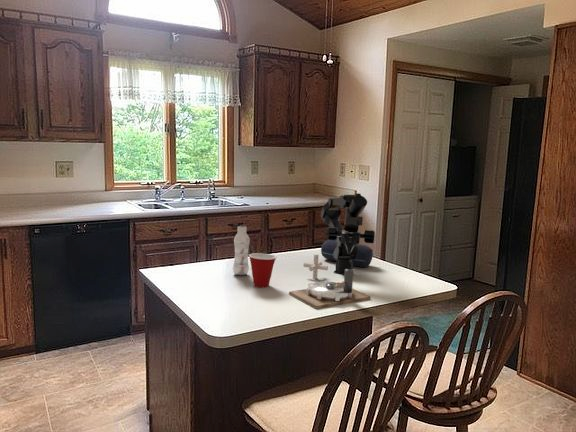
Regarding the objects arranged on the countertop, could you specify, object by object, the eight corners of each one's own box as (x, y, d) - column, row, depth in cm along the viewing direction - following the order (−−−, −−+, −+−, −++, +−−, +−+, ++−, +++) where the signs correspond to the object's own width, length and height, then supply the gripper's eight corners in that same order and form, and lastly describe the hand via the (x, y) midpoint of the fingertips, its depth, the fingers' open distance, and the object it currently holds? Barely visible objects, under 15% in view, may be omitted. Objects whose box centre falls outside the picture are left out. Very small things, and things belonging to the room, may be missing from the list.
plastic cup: (280, 284, 187) (282, 254, 185) (266, 291, 178) (267, 259, 176) (257, 279, 192) (258, 250, 190) (241, 286, 183) (242, 255, 181)
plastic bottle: (229, 275, 196) (230, 227, 193) (237, 271, 202) (238, 224, 199) (243, 277, 194) (245, 228, 191) (251, 273, 200) (252, 226, 197)
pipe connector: (330, 277, 200) (332, 253, 198) (322, 283, 191) (323, 258, 189) (308, 273, 204) (309, 250, 202) (298, 279, 195) (300, 255, 193)
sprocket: (297, 294, 172) (299, 267, 170) (319, 283, 186) (321, 258, 184) (341, 304, 163) (342, 275, 161) (360, 292, 177) (362, 265, 176)
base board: (315, 309, 161) (316, 300, 161) (288, 294, 175) (289, 286, 175) (370, 299, 174) (370, 291, 173) (341, 286, 188) (341, 278, 188)
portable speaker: (375, 266, 221) (377, 245, 220) (365, 270, 213) (366, 248, 212) (329, 256, 236) (330, 236, 235) (318, 260, 228) (319, 239, 227)
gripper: (328, 207, 191) (324, 240, 182) (376, 210, 189) (374, 243, 180) (329, 223, 200) (325, 255, 191) (374, 226, 198) (372, 259, 189)
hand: (349, 253), depth 188 cm, fingers closed
